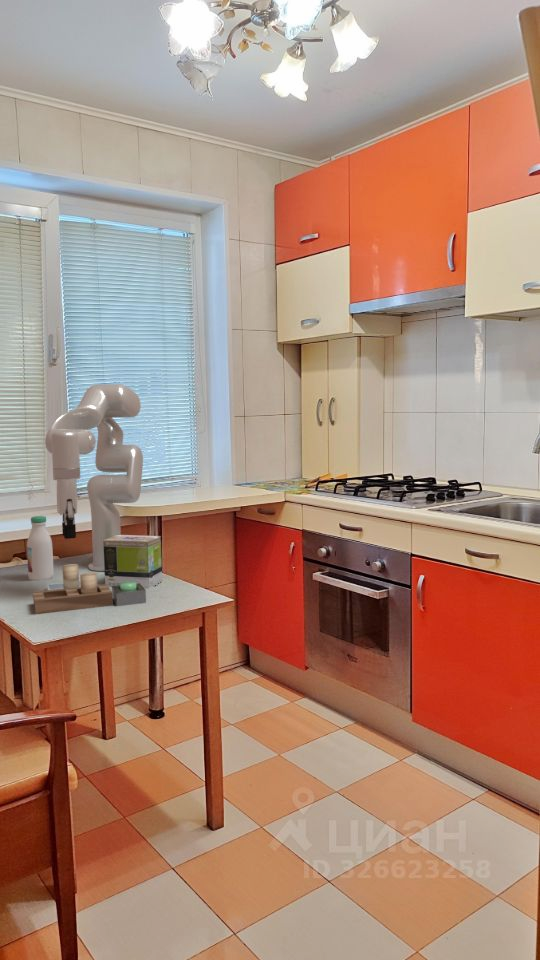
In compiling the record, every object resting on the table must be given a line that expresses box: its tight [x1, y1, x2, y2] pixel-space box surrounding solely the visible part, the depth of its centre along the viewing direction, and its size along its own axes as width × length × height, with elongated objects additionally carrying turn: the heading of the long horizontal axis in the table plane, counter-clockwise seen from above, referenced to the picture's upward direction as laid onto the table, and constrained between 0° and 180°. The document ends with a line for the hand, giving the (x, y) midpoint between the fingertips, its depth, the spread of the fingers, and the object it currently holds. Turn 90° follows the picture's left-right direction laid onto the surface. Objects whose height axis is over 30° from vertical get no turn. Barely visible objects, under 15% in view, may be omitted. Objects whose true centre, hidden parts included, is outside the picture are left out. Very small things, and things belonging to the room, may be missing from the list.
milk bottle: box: [26, 515, 55, 581], centre depth 223 cm, size 8×8×20 cm
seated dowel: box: [79, 572, 98, 594], centre depth 194 cm, size 4×4×8 cm
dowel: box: [62, 563, 80, 589], centre depth 205 cm, size 4×4×8 cm
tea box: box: [103, 534, 163, 589], centre depth 215 cm, size 15×10×15 cm
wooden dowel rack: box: [32, 583, 114, 615], centre depth 193 cm, size 10×20×4 cm, turn 112°
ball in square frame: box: [111, 583, 147, 607], centre depth 196 cm, size 8×8×4 cm
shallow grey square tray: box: [46, 580, 81, 590], centre depth 205 cm, size 13×13×2 cm
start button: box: [120, 582, 137, 591], centre depth 196 cm, size 4×4×3 cm
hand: (69, 536), depth 203 cm, fingers open, 3 cm apart
